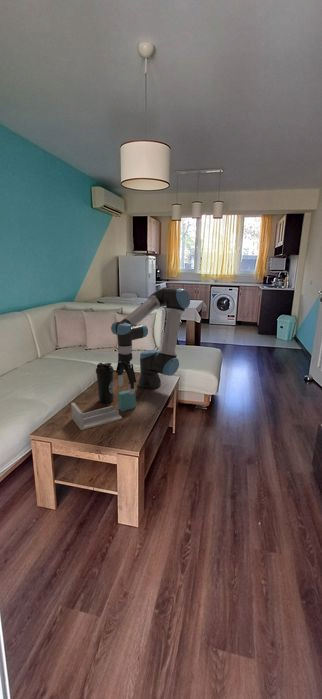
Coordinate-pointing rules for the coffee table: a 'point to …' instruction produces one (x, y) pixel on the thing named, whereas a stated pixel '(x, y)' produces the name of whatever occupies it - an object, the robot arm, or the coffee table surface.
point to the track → (94, 416)
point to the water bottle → (105, 382)
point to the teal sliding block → (126, 400)
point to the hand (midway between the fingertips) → (126, 389)
